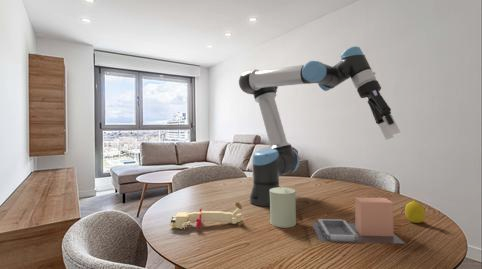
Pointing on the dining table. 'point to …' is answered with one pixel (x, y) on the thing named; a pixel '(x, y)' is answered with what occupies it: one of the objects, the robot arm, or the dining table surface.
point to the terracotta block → (374, 216)
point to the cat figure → (206, 217)
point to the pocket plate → (347, 233)
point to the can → (282, 207)
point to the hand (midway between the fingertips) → (392, 136)
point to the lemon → (414, 212)
